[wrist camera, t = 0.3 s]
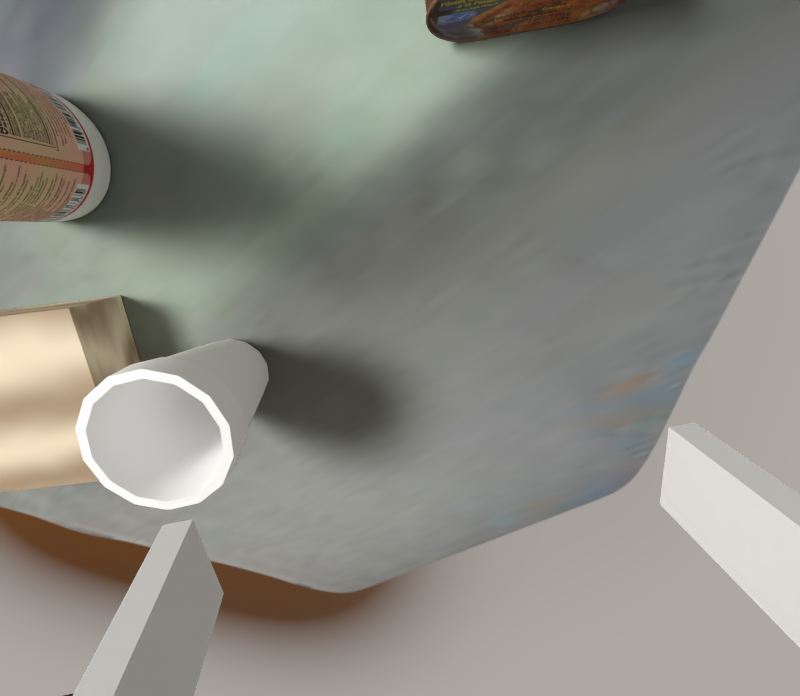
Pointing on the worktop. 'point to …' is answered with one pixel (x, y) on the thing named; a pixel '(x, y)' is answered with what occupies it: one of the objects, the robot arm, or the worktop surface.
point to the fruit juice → (48, 156)
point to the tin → (506, 16)
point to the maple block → (54, 385)
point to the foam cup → (172, 423)
